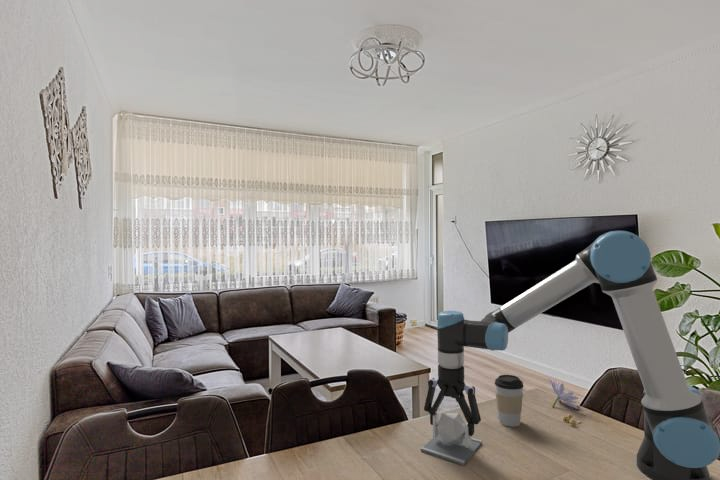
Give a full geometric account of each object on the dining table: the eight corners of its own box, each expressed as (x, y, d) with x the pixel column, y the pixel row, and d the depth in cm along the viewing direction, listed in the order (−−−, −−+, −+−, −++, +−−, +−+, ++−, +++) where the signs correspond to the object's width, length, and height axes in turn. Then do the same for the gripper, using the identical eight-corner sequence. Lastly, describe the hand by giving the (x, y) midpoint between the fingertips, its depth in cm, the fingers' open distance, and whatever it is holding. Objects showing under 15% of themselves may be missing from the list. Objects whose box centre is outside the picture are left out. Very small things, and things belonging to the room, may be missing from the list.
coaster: (481, 443, 124) (481, 440, 124) (463, 465, 113) (463, 462, 113) (441, 431, 132) (441, 429, 132) (420, 451, 120) (420, 448, 120)
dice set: (572, 428, 134) (572, 422, 134) (559, 422, 139) (559, 416, 138) (583, 425, 136) (583, 419, 136) (570, 419, 141) (570, 413, 140)
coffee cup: (489, 419, 140) (488, 374, 140) (509, 413, 144) (508, 370, 144) (509, 430, 132) (508, 383, 132) (530, 424, 136) (529, 378, 136)
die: (461, 454, 116) (475, 421, 119) (433, 437, 118) (448, 405, 120) (454, 450, 124) (468, 420, 127) (428, 434, 125) (443, 404, 128)
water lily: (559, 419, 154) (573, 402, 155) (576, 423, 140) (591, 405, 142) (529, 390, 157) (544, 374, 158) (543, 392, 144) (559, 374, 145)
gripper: (492, 367, 118) (493, 445, 119) (422, 355, 131) (423, 425, 132) (483, 375, 112) (484, 457, 113) (411, 361, 125) (412, 435, 126)
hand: (451, 440), depth 122 cm, fingers closed on die, 9 cm apart
